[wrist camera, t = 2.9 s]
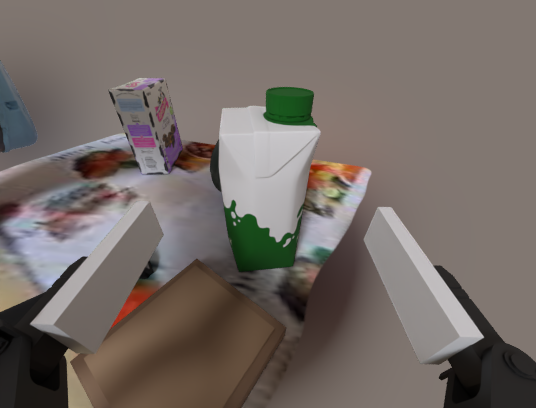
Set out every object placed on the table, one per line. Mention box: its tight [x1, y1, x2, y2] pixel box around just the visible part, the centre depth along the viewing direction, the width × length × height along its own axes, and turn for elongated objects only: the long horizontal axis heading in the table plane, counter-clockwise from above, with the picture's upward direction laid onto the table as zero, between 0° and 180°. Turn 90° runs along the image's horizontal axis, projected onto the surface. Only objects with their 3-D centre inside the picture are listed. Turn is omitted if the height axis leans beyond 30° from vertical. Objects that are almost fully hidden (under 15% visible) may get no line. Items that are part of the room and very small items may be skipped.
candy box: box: [108, 78, 183, 174], centre depth 45 cm, size 14×6×16 cm, turn 5°
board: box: [70, 259, 286, 408], centre depth 19 cm, size 13×13×2 cm
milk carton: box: [219, 87, 321, 272], centre depth 23 cm, size 9×9×20 cm
